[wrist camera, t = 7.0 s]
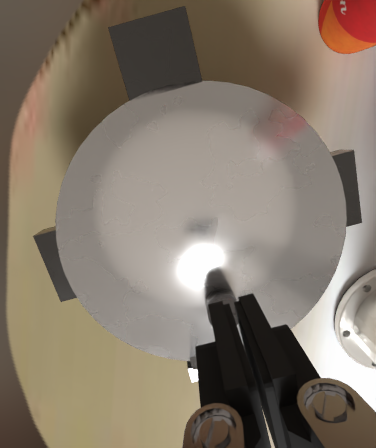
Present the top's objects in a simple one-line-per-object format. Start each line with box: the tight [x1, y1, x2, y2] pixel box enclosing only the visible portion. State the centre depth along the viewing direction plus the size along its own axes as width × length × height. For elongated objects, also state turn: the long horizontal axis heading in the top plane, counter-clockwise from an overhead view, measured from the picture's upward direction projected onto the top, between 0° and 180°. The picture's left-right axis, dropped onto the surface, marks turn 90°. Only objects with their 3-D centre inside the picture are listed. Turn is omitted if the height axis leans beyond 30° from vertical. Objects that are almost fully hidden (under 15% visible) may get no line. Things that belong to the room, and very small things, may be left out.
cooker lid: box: [56, 6, 347, 370], centre depth 18 cm, size 18×21×3 cm
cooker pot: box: [33, 150, 362, 382], centre depth 25 cm, size 22×19×10 cm
